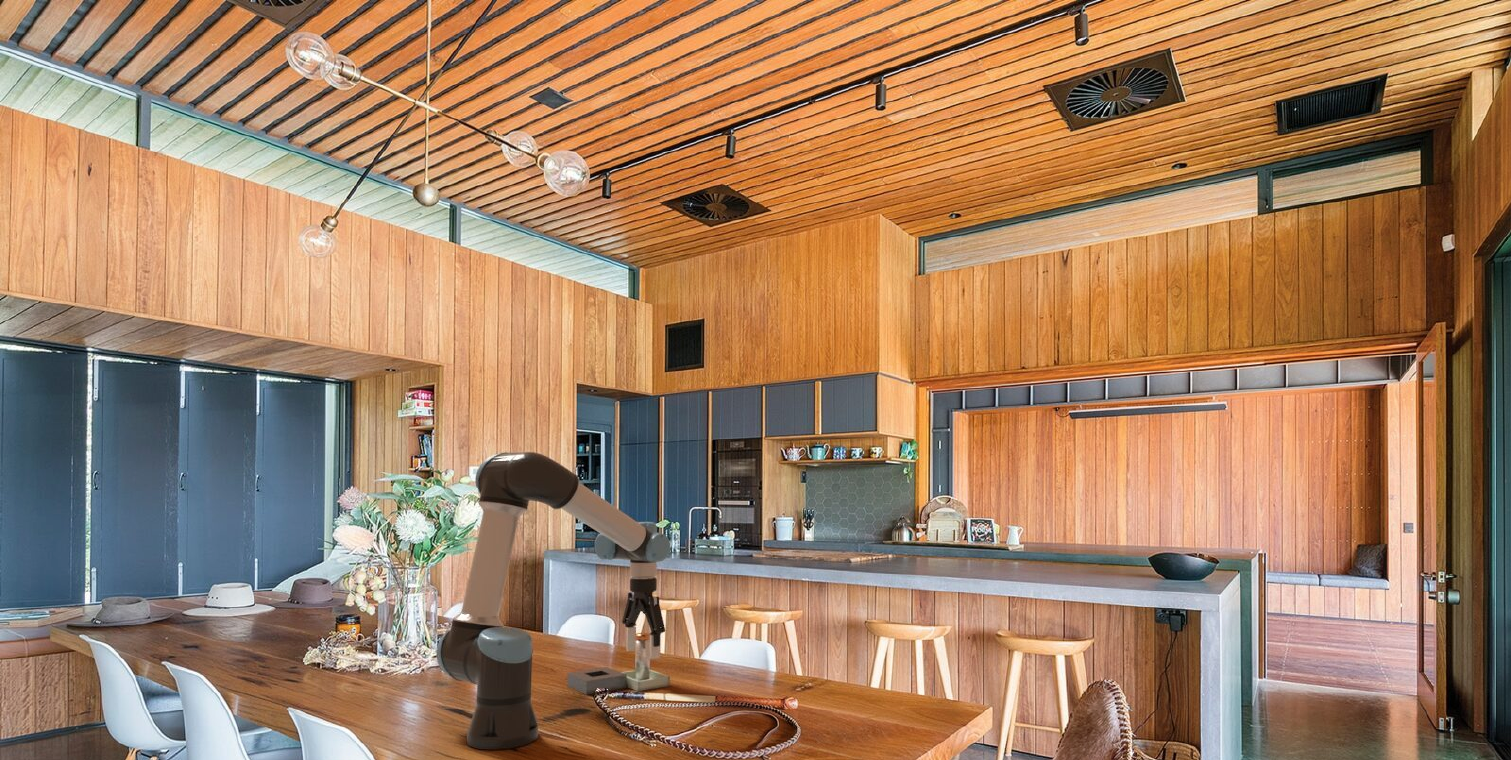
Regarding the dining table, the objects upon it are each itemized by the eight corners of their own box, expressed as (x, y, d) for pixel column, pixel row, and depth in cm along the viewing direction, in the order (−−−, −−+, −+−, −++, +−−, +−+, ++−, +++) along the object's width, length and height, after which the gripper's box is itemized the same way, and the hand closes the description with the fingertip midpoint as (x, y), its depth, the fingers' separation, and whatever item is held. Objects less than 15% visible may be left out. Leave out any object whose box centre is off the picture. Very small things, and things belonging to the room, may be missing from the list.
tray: (637, 691, 228) (638, 681, 228) (615, 682, 239) (615, 673, 239) (669, 685, 234) (669, 676, 234) (646, 677, 244) (646, 668, 245)
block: (586, 694, 225) (586, 680, 226) (567, 685, 235) (567, 672, 235) (626, 687, 232) (626, 674, 233) (606, 679, 242) (606, 666, 242)
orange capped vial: (639, 684, 234) (639, 635, 235) (632, 681, 237) (632, 633, 238) (652, 682, 236) (652, 634, 237) (645, 679, 239) (645, 632, 241)
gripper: (677, 580, 232) (677, 659, 230) (633, 572, 252) (633, 645, 249) (653, 582, 228) (653, 663, 225) (611, 574, 247) (610, 648, 245)
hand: (642, 654), depth 237 cm, fingers open, 13 cm apart
